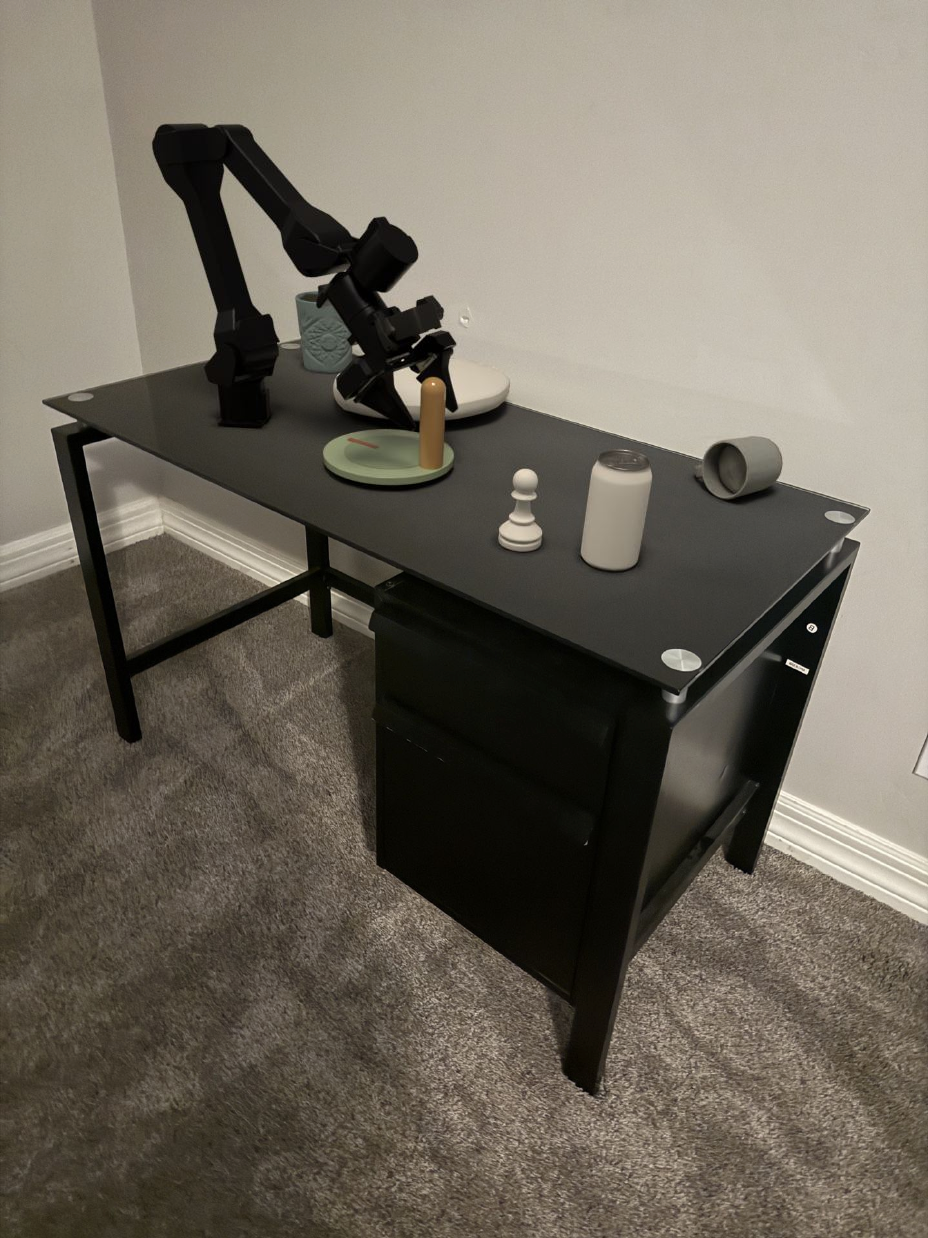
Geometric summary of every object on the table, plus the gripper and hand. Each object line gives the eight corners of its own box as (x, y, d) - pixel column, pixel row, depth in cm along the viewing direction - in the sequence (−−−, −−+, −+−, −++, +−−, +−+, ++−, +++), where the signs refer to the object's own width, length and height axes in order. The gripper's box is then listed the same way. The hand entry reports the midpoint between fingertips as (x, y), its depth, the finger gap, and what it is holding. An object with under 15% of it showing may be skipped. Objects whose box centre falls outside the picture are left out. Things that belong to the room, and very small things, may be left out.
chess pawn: (539, 533, 103) (547, 462, 99) (542, 553, 99) (550, 480, 94) (497, 531, 103) (503, 460, 98) (498, 551, 99) (504, 477, 94)
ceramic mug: (780, 495, 116) (793, 440, 112) (740, 508, 112) (753, 451, 108) (718, 469, 124) (728, 416, 120) (678, 480, 119) (688, 426, 115)
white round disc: (312, 394, 128) (351, 347, 150) (319, 436, 131) (355, 385, 154) (503, 389, 125) (513, 342, 147) (504, 433, 128) (514, 380, 151)
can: (575, 545, 101) (588, 447, 95) (629, 545, 102) (646, 448, 95) (586, 572, 96) (600, 470, 89) (643, 573, 96) (662, 471, 90)
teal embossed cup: (331, 377, 151) (329, 305, 144) (286, 366, 155) (282, 296, 149) (366, 364, 158) (365, 295, 152) (322, 354, 162) (319, 287, 156)
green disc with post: (295, 461, 116) (290, 366, 109) (378, 426, 128) (378, 340, 122) (401, 497, 108) (402, 397, 101) (478, 456, 121) (484, 365, 114)
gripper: (352, 286, 98) (429, 403, 99) (447, 264, 111) (514, 368, 112) (303, 344, 106) (375, 452, 106) (397, 318, 119) (461, 414, 120)
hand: (435, 419), depth 111 cm, fingers open, 9 cm apart
